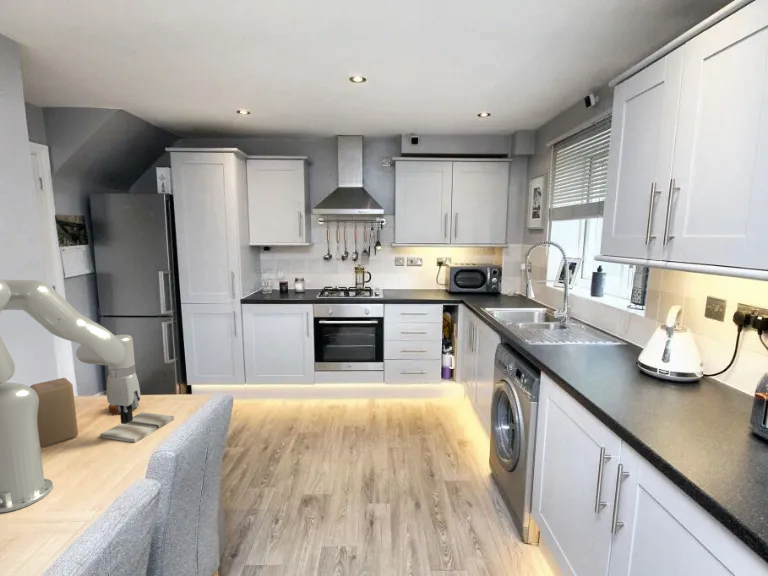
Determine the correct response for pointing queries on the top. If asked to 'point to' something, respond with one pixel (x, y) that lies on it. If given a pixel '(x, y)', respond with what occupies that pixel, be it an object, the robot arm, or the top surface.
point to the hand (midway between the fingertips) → (127, 421)
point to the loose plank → (128, 432)
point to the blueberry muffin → (115, 409)
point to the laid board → (152, 419)
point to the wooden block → (55, 411)
